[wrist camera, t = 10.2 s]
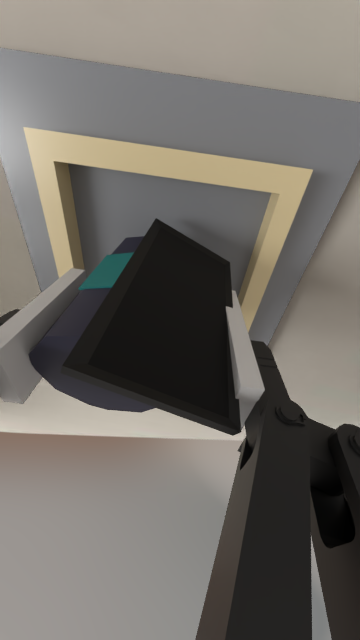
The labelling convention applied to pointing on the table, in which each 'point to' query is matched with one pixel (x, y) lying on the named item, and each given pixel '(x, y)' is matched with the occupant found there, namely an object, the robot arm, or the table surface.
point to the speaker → (149, 333)
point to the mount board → (173, 169)
